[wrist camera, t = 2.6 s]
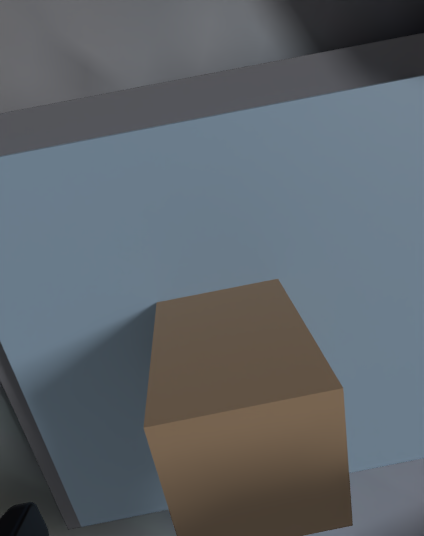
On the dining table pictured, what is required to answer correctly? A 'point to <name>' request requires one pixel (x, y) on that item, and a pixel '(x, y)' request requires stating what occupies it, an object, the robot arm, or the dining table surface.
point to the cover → (223, 309)
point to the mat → (181, 109)
